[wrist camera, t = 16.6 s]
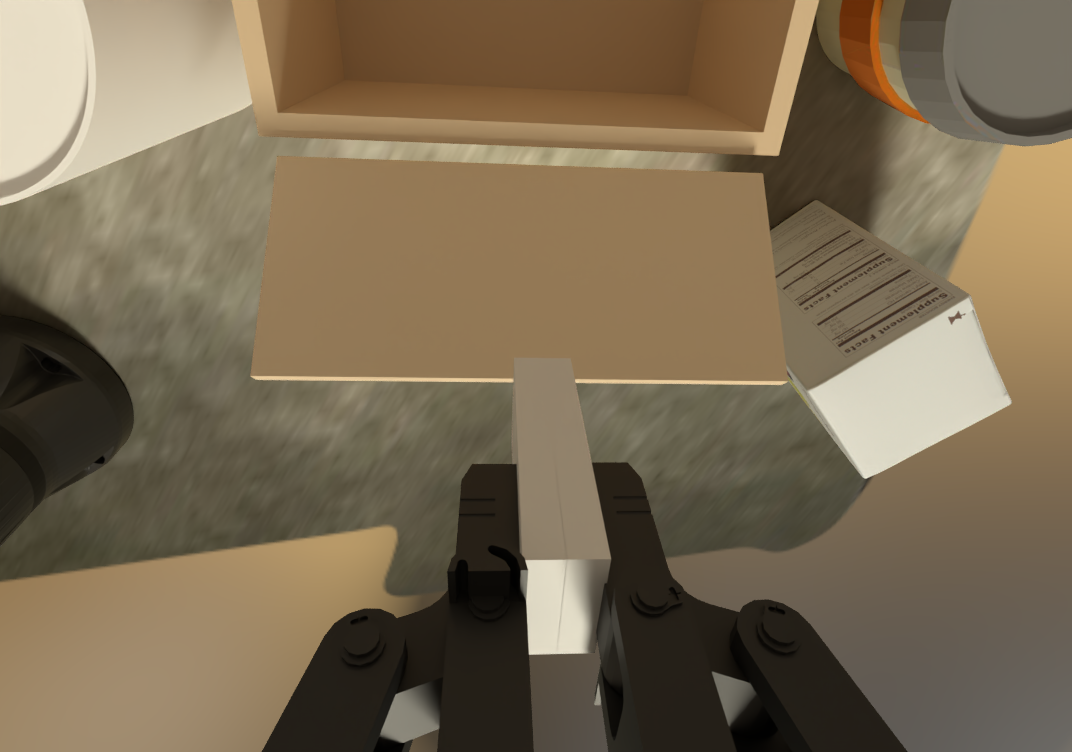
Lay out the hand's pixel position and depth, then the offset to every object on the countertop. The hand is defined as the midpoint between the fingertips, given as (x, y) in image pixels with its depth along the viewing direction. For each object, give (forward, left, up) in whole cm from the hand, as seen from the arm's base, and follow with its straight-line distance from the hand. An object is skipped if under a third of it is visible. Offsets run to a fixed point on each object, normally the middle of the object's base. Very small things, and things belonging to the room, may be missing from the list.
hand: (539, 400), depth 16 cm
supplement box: (+22, -8, -29) cm, 38 cm away
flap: (0, 0, -11) cm, 11 cm away
